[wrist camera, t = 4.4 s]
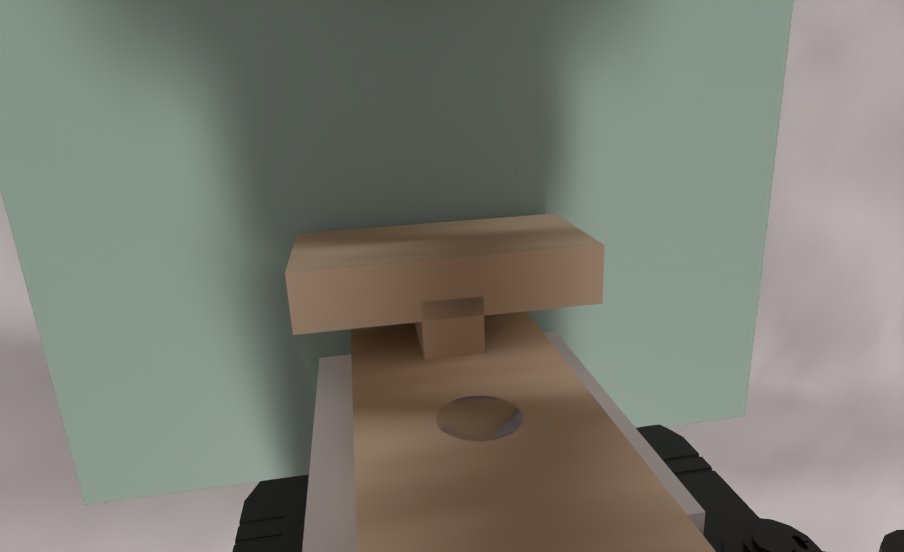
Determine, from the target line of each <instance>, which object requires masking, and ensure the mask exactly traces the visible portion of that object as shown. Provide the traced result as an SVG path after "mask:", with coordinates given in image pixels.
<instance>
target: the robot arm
mask: <svg viewBox="0 0 904 552" xmlns="http://www.w3.org/2000/svg"><path fill="white" fill-rule="evenodd" d="M544 334H545V336H546V337H547V338H548V339H549V341H550V342H551V343H552V344H553V346H554V347H555V348H556V350H557V351H558V352H559V353H560V355H561V356H562V357H563V358H564V360H565V361H566V362H567V363H568V365H569V366H570V367H571V369H572V370H573V371H574V372H575V374H576V375H577V376H578V377H579V379H580V380H581V381H582V382H583V384H584V385H585V386H586V388H587V389H588V390H589V391H590V393H591V394H592V395H593V396H594V398H595V399H596V400H597V401H598V403H599V404H600V405H601V407H602V408H603V409H604V410H605V412H606V413H607V414H608V415H609V417H610V418H611V419H612V420H613V422H614V423H615V424H616V426H617V427H618V428H619V429H620V431H621V432H622V433H623V434H624V436H625V437H626V438H627V440H628V441H629V442H630V443H631V445H632V446H633V447H634V448H635V450H636V451H637V452H638V453H639V455H640V456H641V457H642V459H643V460H644V461H645V462H646V464H647V465H648V466H649V467H650V469H651V470H652V471H653V472H654V474H655V475H656V476H657V478H658V479H659V480H660V481H661V483H662V484H663V485H664V486H665V488H666V489H667V490H668V491H669V493H670V494H671V495H672V497H673V498H674V499H675V500H676V502H677V503H678V504H679V505H680V507H681V508H682V509H683V510H684V512H685V513H686V514H687V516H688V517H689V518H690V519H691V521H692V522H693V523H694V524H695V526H696V527H697V528H698V529H699V531H700V532H701V533H702V535H703V536H704V537H705V538H706V540H707V541H708V542H709V543H710V545H711V546H712V547H713V549H714V550H715V551H716V552H824V551H821V549H820V548H819V547H818V546H817V545H816V544H815V543H814V542H813V541H812V540H811V539H810V538H809V537H808V536H806V535H805V534H803V533H801V532H800V531H798V530H796V529H795V528H793V527H791V526H789V525H786V524H783V523H780V522H777V521H774V520H771V519H762V518H759V517H758V516H757V515H756V514H755V513H754V512H753V511H752V510H751V509H750V508H749V507H748V505H747V504H746V503H745V502H744V501H743V500H742V499H741V498H740V497H739V496H738V495H737V494H736V493H735V492H734V491H733V490H732V488H731V487H730V486H729V485H728V484H727V483H726V482H725V481H724V480H723V479H722V478H721V477H720V476H719V475H718V474H717V473H716V472H715V471H712V467H711V466H710V465H709V464H708V463H707V462H706V461H705V460H704V459H703V458H702V457H699V453H698V452H697V451H696V450H695V449H694V448H693V447H692V446H691V445H690V444H689V443H688V442H687V441H686V440H685V439H684V438H683V437H682V436H680V435H678V434H677V433H675V432H673V431H671V430H669V429H668V428H666V427H664V426H662V425H660V424H658V425H651V426H644V427H637V428H635V427H634V425H633V424H632V423H631V422H630V421H629V419H628V418H627V417H626V416H625V415H624V413H623V412H622V411H621V410H620V408H619V407H618V406H617V405H616V404H615V402H614V401H613V400H612V399H611V398H610V396H609V395H608V394H607V393H606V392H605V390H604V389H603V388H602V387H601V386H600V384H599V383H598V382H597V381H596V380H595V378H594V377H593V376H592V375H591V374H590V372H589V371H588V370H587V369H586V368H585V366H584V365H583V364H582V363H581V362H580V360H579V359H578V358H577V357H576V356H575V354H574V353H573V352H572V351H571V350H570V348H569V347H568V346H567V345H566V344H565V342H564V341H563V340H562V339H561V338H560V336H559V335H558V334H557V333H556V332H546V333H544ZM239 523H240V527H238V531H237V535H236V539H235V545H234V548H233V552H357V539H356V503H355V467H354V431H353V395H352V359H351V354H350V355H341V356H332V357H323V358H319V369H318V380H317V392H316V403H315V414H314V425H313V436H312V447H311V458H310V469H309V474H308V475H301V476H294V477H286V478H279V479H272V480H265V481H260V483H259V484H258V485H257V486H256V488H255V489H254V490H253V491H252V492H251V494H250V495H249V496H248V497H247V499H246V500H245V501H244V506H243V510H242V514H241V518H240V522H239ZM879 552H904V530H896V531H894V532H891V533H889V534H887V535H885V536H884V539H883V541H882V543H881V545H880V550H879Z"/></svg>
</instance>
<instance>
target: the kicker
mask: <svg viewBox="0 0 904 552" xmlns="http://www.w3.org/2000/svg"><path fill="white" fill-rule="evenodd" d="M604 246H605V245H604V244H602V243H600V242H599V241H597V240H596V239H594V238H593V237H591V236H589V235H588V234H586V233H585V232H583V231H582V230H580V229H578V228H577V227H575V226H574V225H572V224H570V223H569V222H567V221H566V220H564V219H563V218H561V217H559V216H558V215H556V214H555V213H554V214H541V215H528V216H516V217H503V218H490V219H477V220H465V221H452V222H439V223H426V224H414V225H401V226H388V227H375V228H363V229H350V230H337V231H324V232H312V233H299V234H297V235H296V238H295V241H294V245H293V248H292V251H291V255H290V258H289V261H288V264H287V268H286V271H285V277H286V285H287V293H288V300H289V308H290V316H291V323H292V331H293V335H297V334H307V333H317V332H327V331H336V330H346V329H351V359H352V395H353V431H354V467H355V503H356V539H357V552H716V551H715V550H714V549H713V547H712V546H711V545H710V543H709V542H708V541H707V540H706V538H705V537H704V536H703V535H702V533H701V532H700V531H699V529H698V528H697V527H696V526H695V524H694V523H693V522H692V521H691V519H690V518H689V517H688V516H687V514H686V513H685V512H684V510H683V509H682V508H681V507H680V505H679V504H678V503H677V502H676V500H675V499H674V498H673V497H672V495H671V494H670V493H669V491H668V490H667V489H666V488H665V486H664V485H663V484H662V483H661V481H660V480H659V479H658V478H657V476H656V475H655V474H654V472H653V471H652V470H651V469H650V467H649V466H648V465H647V464H646V462H645V461H644V460H643V459H642V457H641V456H640V455H639V453H638V452H637V451H636V450H635V448H634V447H633V446H632V445H631V443H630V442H629V441H628V440H627V438H626V437H625V436H624V434H623V433H622V432H621V431H620V429H619V428H618V427H617V426H616V424H615V423H614V422H613V420H612V419H611V418H610V417H609V415H608V414H607V413H606V412H605V410H604V409H603V408H602V407H601V405H600V404H599V403H598V401H597V400H596V399H595V398H594V396H593V395H592V394H591V393H590V391H589V390H588V389H587V388H586V386H585V385H584V384H583V382H582V381H581V380H580V379H579V377H578V376H577V375H576V374H575V372H574V371H573V370H572V369H571V367H570V366H569V365H568V363H567V362H566V361H565V360H564V358H563V357H562V356H561V355H560V353H559V352H558V351H557V350H556V348H555V347H554V346H553V344H552V343H551V342H550V341H549V339H548V338H547V337H546V336H545V334H544V333H543V332H542V330H541V329H540V328H539V327H538V325H537V324H536V323H535V322H534V320H533V319H532V318H531V317H530V315H529V314H528V313H527V311H534V310H544V309H553V308H563V307H573V306H583V305H593V304H602V303H603V275H604Z"/></svg>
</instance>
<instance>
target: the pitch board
mask: <svg viewBox="0 0 904 552" xmlns="http://www.w3.org/2000/svg"><path fill="white" fill-rule="evenodd" d="M793 1H794V0H0V190H1V193H2V197H3V201H4V205H5V208H6V212H7V216H8V220H9V223H10V227H11V231H12V234H13V238H14V242H15V246H16V249H17V253H18V257H19V261H20V264H21V268H22V272H23V276H24V279H25V283H26V287H27V290H28V294H29V298H30V302H31V305H32V309H33V313H34V317H35V320H36V324H37V328H38V331H39V335H40V339H41V343H42V346H43V350H44V354H45V358H46V361H47V365H48V369H49V373H50V376H51V380H52V384H53V387H54V391H55V395H56V399H57V402H58V406H59V410H60V414H61V417H62V421H63V425H64V428H65V432H66V436H67V440H68V443H69V447H70V451H71V455H72V458H73V462H74V466H75V470H76V473H77V477H78V481H79V484H80V488H81V492H82V496H83V499H84V503H85V505H86V504H94V503H101V502H109V501H116V500H124V499H131V498H139V497H146V496H154V495H161V494H169V493H176V492H184V491H191V490H199V489H206V488H214V487H221V486H229V485H236V484H244V483H251V482H259V481H265V480H272V479H279V478H286V477H294V476H301V475H308V474H309V469H310V458H311V447H312V436H313V425H314V414H315V403H316V392H317V380H318V369H319V358H323V357H332V356H341V355H350V354H351V329H346V330H336V331H327V332H317V333H307V334H297V335H293V331H292V323H291V316H290V308H289V300H288V293H287V285H286V277H285V271H286V268H287V264H288V261H289V258H290V255H291V251H292V248H293V245H294V241H295V238H296V235H297V234H299V233H312V232H324V231H337V230H350V229H363V228H375V227H388V226H401V225H414V224H426V223H439V222H452V221H465V220H477V219H490V218H503V217H516V216H528V215H541V214H554V213H555V214H556V215H558V216H559V217H561V218H563V219H564V220H566V221H567V222H569V223H570V224H572V225H574V226H575V227H577V228H578V229H580V230H582V231H583V232H585V233H586V234H588V235H589V236H591V237H593V238H594V239H596V240H597V241H599V242H600V243H602V244H604V245H605V246H604V275H603V303H602V304H593V305H583V306H573V307H563V308H553V309H544V310H534V311H527V313H528V314H529V315H530V317H531V318H532V319H533V320H534V322H535V323H536V324H537V325H538V327H539V328H540V329H541V330H542V332H543V333H546V332H556V333H557V334H558V335H559V336H560V338H561V339H562V340H563V341H564V342H565V344H566V345H567V346H568V347H569V348H570V350H571V351H572V352H573V353H574V354H575V356H576V357H577V358H578V359H579V360H580V362H581V363H582V364H583V365H584V366H585V368H586V369H587V370H588V371H589V372H590V374H591V375H592V376H593V377H594V378H595V380H596V381H597V382H598V383H599V384H600V386H601V387H602V388H603V389H604V390H605V392H606V393H607V394H608V395H609V396H610V398H611V399H612V400H613V401H614V402H615V404H616V405H617V406H618V407H619V408H620V410H621V411H622V412H623V413H624V415H625V416H626V417H627V418H628V419H629V421H630V422H631V423H632V424H633V425H634V427H635V428H637V427H644V426H651V425H658V424H660V425H662V426H664V427H671V426H678V425H686V424H693V423H701V422H708V421H716V420H723V419H731V418H738V417H745V409H746V400H747V392H748V383H749V375H750V366H751V358H752V349H753V341H754V332H755V324H756V315H757V307H758V298H759V290H760V281H761V273H762V264H763V256H764V247H765V239H766V230H767V222H768V213H769V205H770V196H771V188H772V179H773V171H774V162H775V154H776V145H777V137H778V128H779V120H780V111H781V103H782V94H783V86H784V77H785V69H786V60H787V52H788V43H789V35H790V26H791V18H792V9H793Z"/></svg>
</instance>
